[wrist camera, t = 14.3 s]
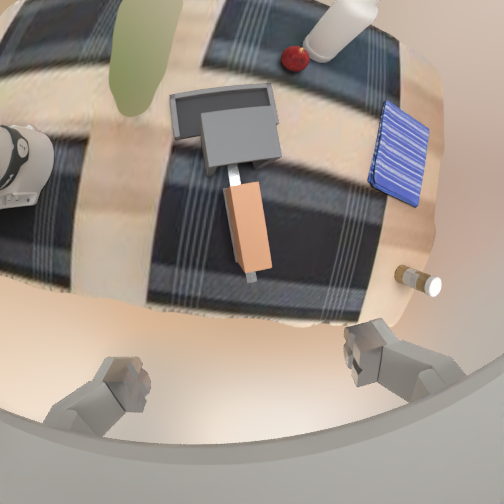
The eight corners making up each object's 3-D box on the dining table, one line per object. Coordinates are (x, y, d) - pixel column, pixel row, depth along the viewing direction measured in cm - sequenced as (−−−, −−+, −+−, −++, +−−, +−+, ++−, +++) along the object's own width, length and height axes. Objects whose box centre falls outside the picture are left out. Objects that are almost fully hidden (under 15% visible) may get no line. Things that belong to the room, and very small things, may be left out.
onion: (303, 77, 50) (318, 62, 43) (278, 75, 49) (290, 59, 42) (300, 56, 49) (313, 40, 42) (275, 54, 48) (286, 37, 41)
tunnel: (206, 177, 51) (209, 166, 36) (200, 137, 49) (200, 113, 34) (259, 169, 52) (281, 156, 38) (253, 130, 51) (272, 105, 36)
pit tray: (175, 140, 48) (174, 137, 46) (170, 99, 47) (169, 95, 44) (275, 126, 51) (279, 122, 49) (268, 87, 50) (270, 83, 47)
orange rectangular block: (235, 261, 54) (243, 274, 44) (222, 188, 51) (227, 185, 42) (261, 256, 55) (274, 268, 45) (249, 184, 52) (260, 180, 42)
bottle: (321, 69, 51) (399, 2, 22) (295, 48, 49) (357, -31, 20) (338, 52, 50) (412, -10, 21) (313, 32, 48) (375, -39, 19)
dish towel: (364, 185, 58) (371, 184, 55) (381, 99, 55) (387, 96, 52) (414, 209, 61) (421, 210, 59) (426, 130, 59) (433, 128, 56)
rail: (247, 283, 56) (247, 283, 56) (221, 134, 50) (222, 134, 50) (256, 281, 56) (257, 281, 56) (232, 133, 50) (232, 132, 50)
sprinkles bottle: (409, 268, 63) (444, 280, 50) (402, 284, 64) (437, 299, 51) (398, 262, 62) (434, 274, 49) (391, 278, 63) (427, 294, 50)
